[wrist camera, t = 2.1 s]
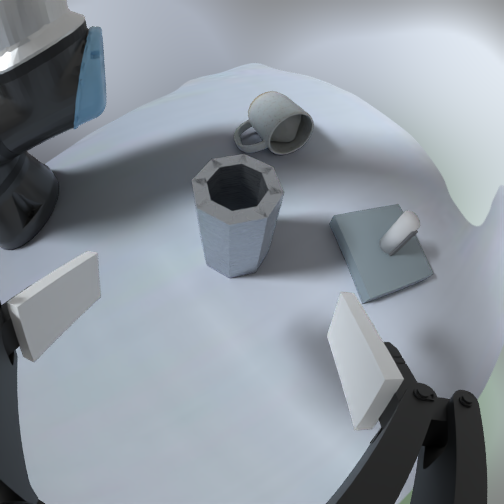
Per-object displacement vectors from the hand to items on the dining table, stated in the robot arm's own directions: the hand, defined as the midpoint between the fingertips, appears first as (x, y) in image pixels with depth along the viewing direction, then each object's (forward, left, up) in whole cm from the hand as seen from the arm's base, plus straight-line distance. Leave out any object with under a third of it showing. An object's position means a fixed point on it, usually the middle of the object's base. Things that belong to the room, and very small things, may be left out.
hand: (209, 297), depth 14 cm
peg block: (-5, +22, -15) cm, 27 cm away
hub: (-10, +4, -15) cm, 19 cm away
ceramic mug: (-27, +13, -16) cm, 34 cm away
